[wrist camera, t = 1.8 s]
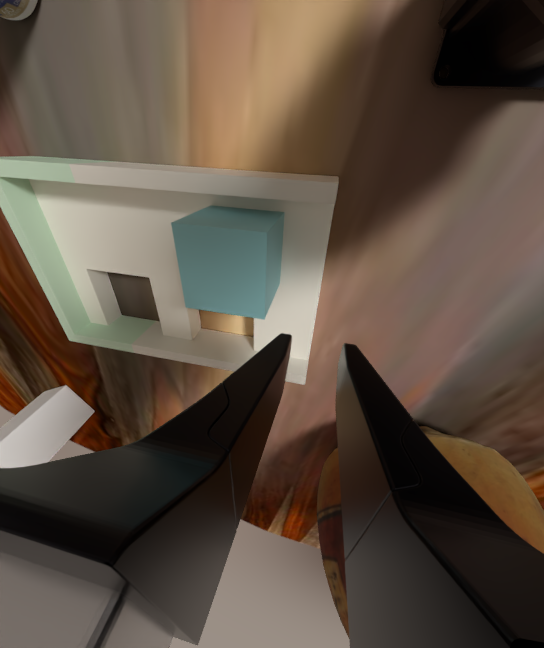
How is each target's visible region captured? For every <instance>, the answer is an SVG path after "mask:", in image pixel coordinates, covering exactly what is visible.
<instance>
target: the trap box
mask: <svg viewBox="0 0 544 648" xmlns="http://www.w3.org/2000/svg"><path fill="white" fill-rule="evenodd" d="M338 184H339V177H338V176H323V175H308V174H293V173H278V172H263V171H249V170H234V169H219V168H204V167H189V166H174V165H159V164H144V163H130V162H115V161H100V160H85V159H70V158H55V157H40V156H16V157H0V207H1V209H2V211H3V213H4V215H5V217H6V219H7V220H8V222H9V224H10V226H11V228H12V230H13V232H14V234H15V236H16V238H17V240H18V242H19V244H20V246H21V248H22V250H23V251H24V253H25V255H26V257H27V259H28V261H29V263H30V265H31V267H32V269H33V271H34V273H35V275H36V277H37V279H38V281H39V283H40V284H41V286H42V288H43V290H44V292H45V294H46V296H47V298H48V300H49V302H50V304H51V306H52V308H53V310H54V312H55V314H56V315H57V317H58V319H59V321H60V323H61V325H62V327H63V329H64V331H65V333H66V335H67V337H68V339H69V341H74V342H79V343H84V344H90V345H95V346H100V347H106V348H111V349H116V350H122V351H127V352H132V353H138V354H143V355H148V356H154V357H159V358H164V359H170V360H175V361H180V362H186V363H191V364H196V365H202V366H207V367H212V368H218V369H223V370H228V371H234V372H235V371H236V370H237V369H238V368H240V367H241V366H242V365H243V364H244V363H246V362H247V361H248V360H249V359H250V358H252V357H253V356H254V355H255V354H256V353H258V352H259V351H260V350H261V349H262V348H264V347H265V346H266V345H267V344H268V343H270V342H271V341H272V340H273V339H274V338H276V337H277V336H278V335H279V334H281V333H284V334H290V335H292V342H291V351H290V358H289V363H288V368H287V374H286V379H285V381H287V382H292V383H298V384H303V385H305V381H306V374H307V367H308V360H309V354H310V348H311V342H312V336H313V330H314V324H315V318H316V312H317V306H318V300H319V294H320V288H321V282H322V276H323V270H324V264H325V258H326V252H327V246H328V240H329V234H330V228H331V222H332V216H333V210H334V204H335V202H336V196H337V190H338ZM210 205H211V206H222V207H234V208H245V209H256V210H267V211H278V212H285V215H284V230H283V245H282V260H281V275H280V285H279V287H278V289H277V292H276V294H275V296H274V299H273V301H272V303H271V306H270V308H269V310H268V313H267V315H266V317H265V320H264V319H257V318H254V337H251V336H245V335H239V334H233V333H227V332H221V331H215V330H209V329H203V328H201V321H200V314H199V309H192V308H186V307H185V301H184V295H183V289H182V284H181V278H180V272H179V266H178V260H177V255H176V249H175V243H174V237H173V231H172V226H171V222H174V221H176V220H178V219H181V218H183V217H185V216H187V215H190V214H192V213H194V212H197V211H199V210H201V209H203V208H206V207H208V206H210ZM107 272H112V273H120V274H127V275H134V276H141V277H148V278H149V279H150V283H151V287H152V291H153V295H154V299H155V303H156V307H157V311H158V315H159V319H160V321H154V320H148V319H142V318H136V317H130V316H124V315H122V314H121V311H120V308H119V305H118V302H117V299H116V296H115V294H114V291H113V288H112V285H111V282H110V279H109V276H108V273H107Z"/></svg>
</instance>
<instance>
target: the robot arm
mask: <svg viewBox="0 0 544 648" xmlns="http://www.w3.org/2000/svg"><path fill="white" fill-rule="evenodd" d="M439 25H440V28H441V29H445V30H444V33H443V37H442V40H441V44H440V47H439V51H438V54H437V58H436V61H435V64H434V68H433V71H432V76H431V81H432V84H433V85H434V86H435V87H444V88H506V89H544V0H445V1H444V4H443V8H442V12H441V15H440V19H439ZM442 67H446V68H447V69H448V75H447V77H446V78H445V79H441V78H440V76H439V72H440V70H441V68H442ZM291 342H292V335H290V334H284V333H281V334H279V335H278V336H277V337H276V338H274V339H273V340H272V341H271V342H270V343H268V344H267V345H266V346H265V347H264V348H262V349H261V350H260V351H259V352H258V353H256V354H255V355H254V356H253V357H252V358H250V359H249V360H248V361H247V362H246V363H244V364H243V365H242V366H241V367H240V368H238V369H237V370H236V371H235V372H234V373H232V374H231V375H230V376H229V377H228V378H226V379H225V380H224V381H223V383H220V384H219V385H218V386H217V387H216V388H214V389H213V390H212V391H211V392H209V393H208V394H207V395H205V396H204V397H203V398H202V399H200V400H199V401H197V402H196V403H195V404H193V405H192V406H190V407H189V408H187V409H186V410H184V411H183V412H181V413H180V414H178V415H177V416H175V417H174V418H172V419H171V420H169V421H168V422H166V423H165V424H163V425H162V426H160V427H159V428H157V429H156V430H154V431H153V432H151V433H150V434H148V435H147V436H145V437H143V438H141V439H140V440H138V441H136V442H133V443H131V444H128V445H125V446H122V447H118V448H113V449H109V450H104V451H99V452H94V453H90V454H85V455H80V456H75V457H71V458H66V459H61V460H56V461H52V462H47V463H42V464H37V465H31V466H26V467H17V468H0V648H169V647H170V643H171V641H172V638H173V637H175V638H178V639H181V640H184V641H187V642H190V643H192V644H195V645H198V643H199V640H200V637H201V634H202V631H203V628H204V625H205V622H206V619H207V616H208V614H209V611H210V608H211V605H212V602H213V599H214V596H215V593H216V590H217V587H218V584H219V581H220V578H221V575H222V572H223V569H224V566H225V563H226V560H227V557H228V554H229V551H230V548H231V545H232V543H233V540H234V537H235V533H236V529H237V528H238V525H239V521H240V519H241V516H242V513H243V510H244V507H245V504H246V501H247V498H248V495H249V492H250V489H251V486H252V483H253V480H254V477H255V474H256V471H257V468H258V465H259V462H260V459H261V456H262V453H263V450H264V447H265V444H266V441H267V439H268V436H269V433H270V430H271V427H272V424H273V421H274V418H275V415H276V412H277V409H278V406H279V403H280V400H281V397H282V393H283V389H284V384H285V379H286V374H287V368H288V363H289V358H290V351H291ZM412 420H413V418H412V417H411V416H410V414H409V413H408V412H407V410H406V409H405V408H404V406H403V405H402V404H401V403H400V401H399V400H398V399H397V397H396V396H395V395H394V394H393V392H392V391H391V390H390V388H389V387H388V386H387V385H386V383H385V382H384V381H383V379H382V378H381V377H380V375H379V374H378V373H377V372H376V370H375V369H374V368H373V366H372V365H371V364H370V363H369V361H368V360H367V359H366V357H365V356H364V355H363V354H362V352H361V351H360V350H359V348H358V347H357V346H356V345H353V344H347V343H345V344H344V345H343V347H342V351H341V355H340V359H339V363H338V374H337V388H336V424H337V441H338V457H339V474H340V490H341V506H342V523H343V539H344V556H345V574H346V590H347V606H348V623H349V639H350V648H544V553H542V552H541V551H539V550H537V549H536V548H535V547H533V546H532V545H530V544H529V543H528V542H526V541H525V540H524V539H523V538H521V537H520V536H519V535H518V534H516V533H515V532H514V531H513V530H512V529H511V528H510V527H509V526H508V525H507V524H506V523H505V522H504V521H503V520H502V519H501V518H500V517H499V516H498V515H497V514H496V513H495V512H494V511H493V510H492V509H491V508H490V506H489V505H488V504H487V503H486V502H485V501H484V500H483V499H482V498H481V497H480V496H479V494H478V493H477V492H476V491H475V490H474V489H473V488H472V487H471V486H470V485H469V484H468V482H467V481H466V480H465V479H464V478H463V477H462V476H461V475H460V474H459V473H458V472H457V470H456V469H455V468H454V467H453V466H452V465H451V464H450V463H449V462H448V460H447V459H446V458H445V457H444V456H443V455H442V454H441V453H440V451H439V450H438V449H437V448H436V447H435V446H434V444H433V443H432V442H431V441H430V439H429V438H428V437H427V436H426V435H425V433H424V432H423V431H422V430H421V428H420V427H419V426H418V424H417V423H416V422H415V421H414V420H413V421H412Z"/></svg>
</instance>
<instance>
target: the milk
mask: <svg viewBox="0 0 544 648" xmlns="http://www.w3.org/2000/svg"><path fill="white" fill-rule="evenodd" d="M94 412H95V411H94V410H93V409H92V408H91V407H90V406H89V405H88V404H87V403H86V402H84V401H83V400H82V399H81V398H80V397H79V396H78V395H77V394H76V393H74V392H73V391H72V390H71V389H70V388H69V387H68V386H67V385H65V386H61V387H58V388H54V389H51V390H47V391H44V392H43V393H42V394H41V395H39V396H38V397H37V398H36V399H35V400H33V401H32V402H31V403H30V404H29V405H27V406H26V407H25V408H24V409H22V410H21V411H20V412H19V413H18V414H16V415H15V416H14V417H13V418H12V419H10V420H9V421H8V422H7V423H6V424H4V425H3V426H2V427H1V428H0V468H17V467H26V466H31V465H37V464H42V463H47V462H49V461H50V459H51V458H52V457H53V456H54V455H55V454H56V453H57V452H58V451H59V450H60V449H61V448H62V447H63V446H64V444H65V443H66V442H67V441H68V440H69V439H70V438H71V437H72V436H73V435H74V434H75V433H76V432H77V430H78V429H79V428H80V427H81V426H82V425H83V424H84V423H85V422H86V421H87V420H88V419H89V417H90V416H91V415H92V414H93V413H94Z"/></svg>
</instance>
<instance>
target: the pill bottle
mask: <svg viewBox="0 0 544 648" xmlns="http://www.w3.org/2000/svg"><path fill="white" fill-rule="evenodd" d="M37 1H38V0H0V17H2V18H5V19H9V20H22V19H25V18H27V17H28V16H29V15H31V13H32V12H33V11H34V9H35V7H36V4H37Z"/></svg>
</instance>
